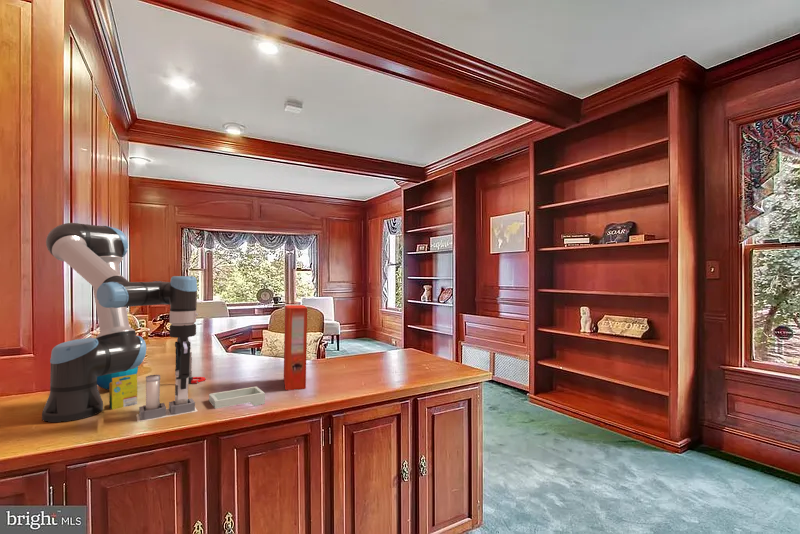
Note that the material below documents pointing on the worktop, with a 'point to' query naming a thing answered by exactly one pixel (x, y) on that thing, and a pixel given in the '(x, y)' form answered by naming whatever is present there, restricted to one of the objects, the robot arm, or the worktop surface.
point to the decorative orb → (106, 379)
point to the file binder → (295, 347)
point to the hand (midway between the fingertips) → (181, 396)
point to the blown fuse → (181, 401)
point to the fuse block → (165, 411)
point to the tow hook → (190, 378)
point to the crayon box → (123, 392)
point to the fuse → (152, 392)
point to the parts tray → (237, 397)
